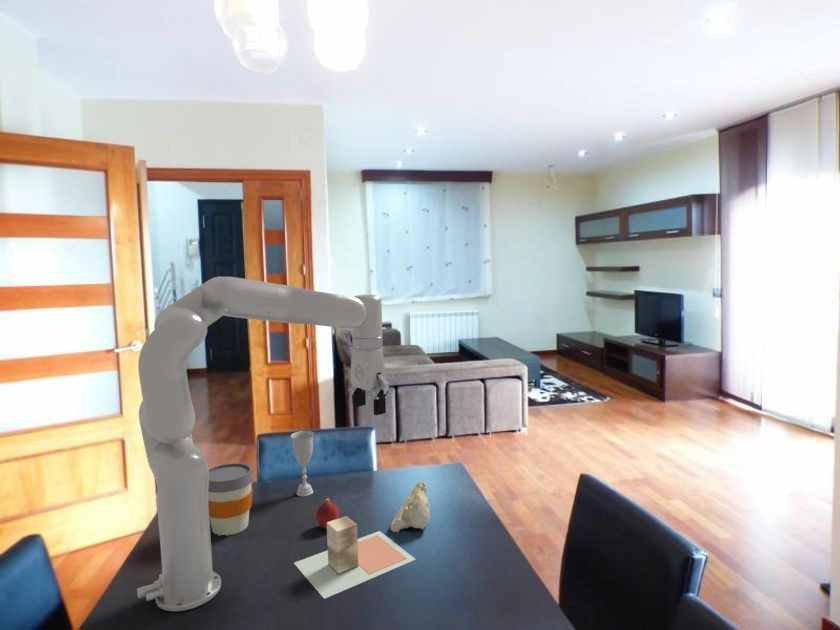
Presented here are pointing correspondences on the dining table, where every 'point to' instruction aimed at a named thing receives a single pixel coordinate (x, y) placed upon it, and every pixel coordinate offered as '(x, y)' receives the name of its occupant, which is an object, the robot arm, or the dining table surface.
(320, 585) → the mat
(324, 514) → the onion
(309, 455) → the chalice
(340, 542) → the maple block
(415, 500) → the beige rock
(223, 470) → the reusable coffee cup
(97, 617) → the dining table surface
